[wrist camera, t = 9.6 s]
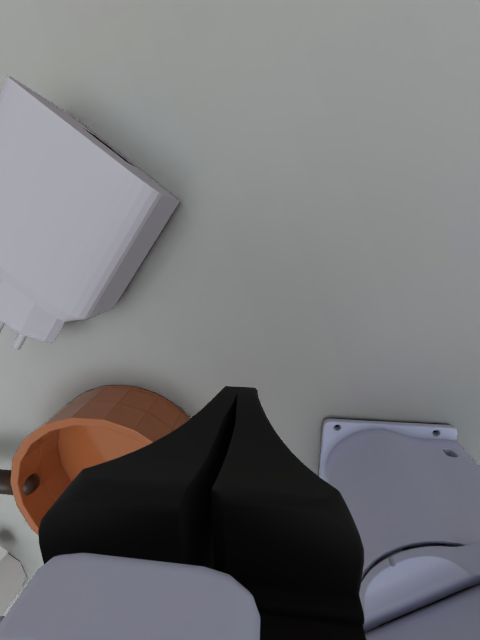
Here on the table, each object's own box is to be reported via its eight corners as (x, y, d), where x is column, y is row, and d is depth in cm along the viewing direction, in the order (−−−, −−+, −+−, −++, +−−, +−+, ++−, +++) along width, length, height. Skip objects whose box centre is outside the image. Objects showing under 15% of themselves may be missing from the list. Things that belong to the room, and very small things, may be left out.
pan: (205, 388, 22) (190, 424, 18) (211, 524, 26) (199, 581, 22) (41, 381, 24) (-10, 412, 19) (69, 511, 27) (31, 562, 23)
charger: (-19, 295, 22) (64, 109, 18) (82, 365, 23) (183, 202, 19) (-94, 309, 17) (-5, 65, 13) (35, 396, 18) (156, 190, 14)
